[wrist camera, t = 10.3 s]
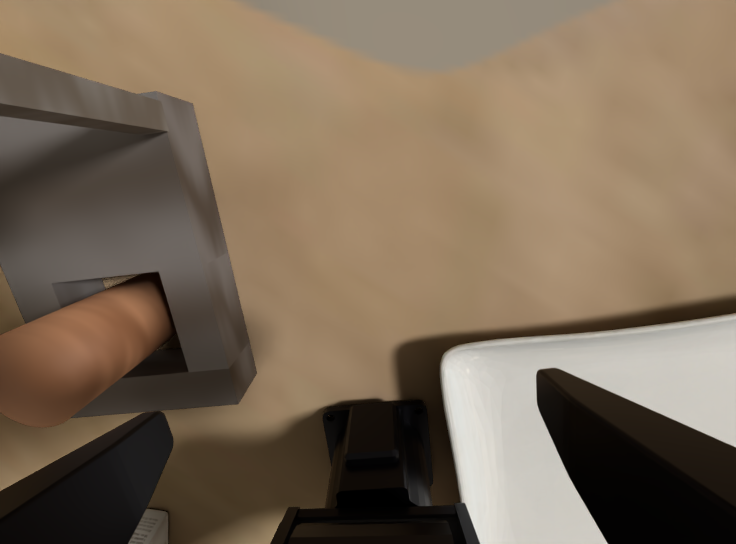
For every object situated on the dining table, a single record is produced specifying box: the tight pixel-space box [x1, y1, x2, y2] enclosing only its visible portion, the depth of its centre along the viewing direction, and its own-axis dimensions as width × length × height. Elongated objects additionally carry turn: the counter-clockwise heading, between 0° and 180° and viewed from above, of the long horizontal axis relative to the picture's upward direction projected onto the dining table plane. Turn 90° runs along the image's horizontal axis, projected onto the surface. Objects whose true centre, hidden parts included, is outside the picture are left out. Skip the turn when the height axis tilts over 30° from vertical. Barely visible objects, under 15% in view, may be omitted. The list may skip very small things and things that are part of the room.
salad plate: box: [440, 313, 736, 544], centre depth 22 cm, size 21×21×3 cm
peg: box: [0, 273, 177, 427], centre depth 17 cm, size 4×4×8 cm
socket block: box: [0, 53, 257, 418], centre depth 14 cm, size 16×12×13 cm
